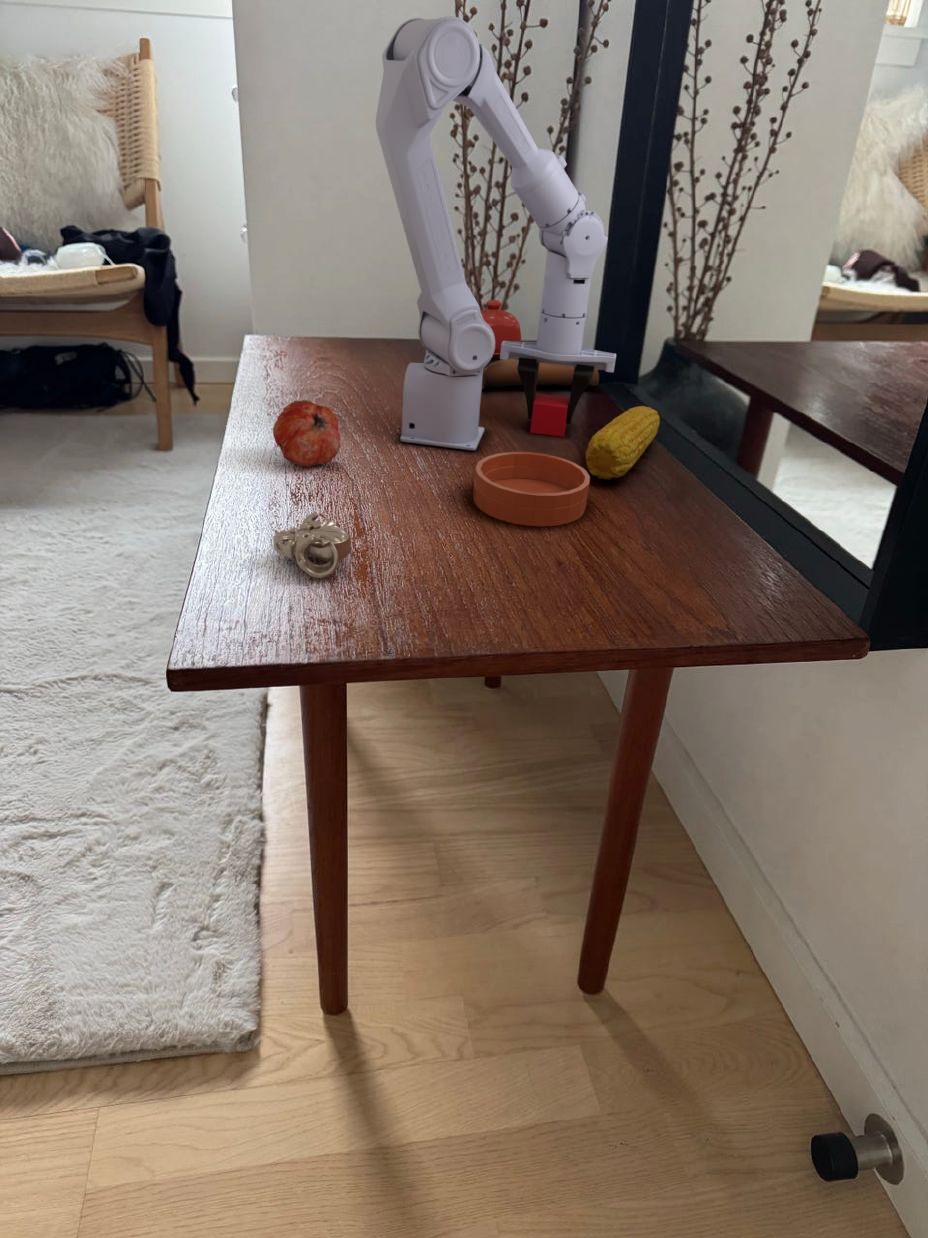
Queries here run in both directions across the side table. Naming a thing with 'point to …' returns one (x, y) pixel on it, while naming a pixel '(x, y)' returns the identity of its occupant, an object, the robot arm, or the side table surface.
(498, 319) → the butter dish
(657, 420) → the food
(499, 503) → the pot
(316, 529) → the ornament
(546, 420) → the red block
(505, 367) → the brown rounded bar
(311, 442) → the pomegranate
